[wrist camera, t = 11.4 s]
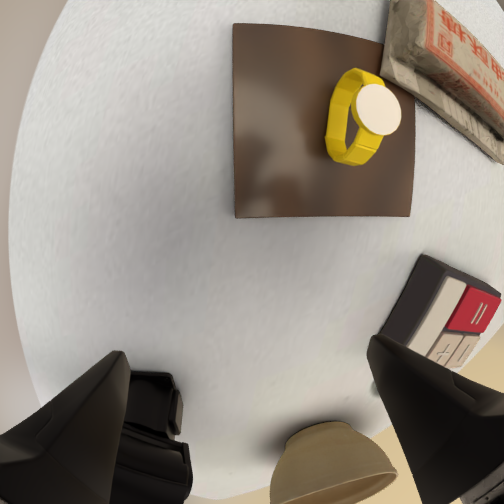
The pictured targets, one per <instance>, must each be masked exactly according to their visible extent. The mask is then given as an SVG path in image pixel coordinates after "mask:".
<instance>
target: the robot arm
mask: <svg viewBox="0 0 504 504" xmlns="http://www.w3.org/2000/svg"><path fill="white" fill-rule="evenodd" d="M367 359H368V362H369V365H370V368H371V371H372V374H373V378H374V381H375V384H376V387H377V390H378V392H379V394H380V397H381V399H382V401H383V404H384V406H385V408H386V410H387V413H388V415H389V417H390V420H391V422H392V425H393V427H394V429H395V432H396V434H397V437H398V439H399V442H400V444H401V446H402V449H403V452H404V454H405V457H406V459H407V462H408V465H409V467H410V470H411V472H412V474H413V478H414V481H415V484H416V487H417V490H418V492H419V495H420V498H421V501H422V504H450V503H451V502H453V501H454V500H456V499H457V498H459V497H460V499H461V501H462V503H463V504H504V393H501V392H499V391H496V390H493V389H491V388H488V387H486V386H483V385H481V384H478V383H476V382H474V381H471V380H469V379H467V378H465V377H463V376H461V375H459V374H457V373H455V372H453V371H452V372H451V370H449V369H448V368H446V367H444V366H442V365H440V364H438V363H436V362H434V361H432V360H430V359H428V358H427V357H425V356H423V355H421V354H419V353H417V352H415V351H413V350H411V349H410V348H408V347H406V346H404V345H402V344H400V343H398V342H396V341H394V340H393V339H391V338H389V337H387V336H385V335H383V334H377V335H373V336H372V337H371V339H370V342H369V346H368V349H367ZM182 414H183V402H182V399H181V396H180V392H179V391H178V390H176V388H175V384H174V381H173V378H172V375H170V374H168V373H148V372H131V371H130V366H129V364H128V361H127V358H126V356H125V353H124V352H123V351H115V350H114V351H112V352H110V353H109V354H108V355H106V356H105V357H104V358H103V359H101V360H100V361H99V362H98V363H96V364H95V365H94V366H93V367H91V368H90V369H89V370H88V371H86V372H85V373H84V374H83V375H81V376H80V377H79V378H78V379H76V380H75V381H74V382H73V383H72V384H70V385H69V386H68V387H67V388H65V389H64V390H63V391H62V392H60V393H59V394H58V395H57V396H55V397H54V398H53V399H52V400H51V401H49V402H48V403H47V404H45V405H44V406H43V407H42V408H40V409H39V410H38V411H37V412H35V413H34V414H32V415H31V416H30V417H28V418H27V419H25V420H24V421H22V422H21V423H19V424H18V425H16V426H14V427H13V428H11V429H10V430H8V431H7V432H5V433H4V434H2V435H0V504H183V503H184V500H186V499H187V497H188V496H189V494H190V491H191V488H192V483H193V472H192V466H191V460H190V453H189V446H188V444H187V443H184V442H182V443H181V442H178V441H174V439H175V435H179V434H180V433H181V424H182Z"/></svg>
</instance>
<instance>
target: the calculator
mask: <svg viewBox="0 0 504 504" xmlns="http://www.w3.org/2000/svg"><path fill="white" fill-rule="evenodd" d="M500 297H501V293H500V292H498V291H497V290H495V289H494V288H493V287H491V286H490V285H488V284H487V283H485V282H483V281H481V280H479V279H477V278H474V277H472V276H470V275H468V274H466V273H464V272H461V271H459V270H457V269H455V268H453V267H451V266H449V265H447V264H445V263H443V262H441V261H439V260H436V259H434V258H432V257H429V256H427V255H422V256H421V257H420V259H419V261H418V263H417V265H416V268H415V270H414V272H413V274H412V276H411V278H410V280H409V282H408V284H407V286H406V288H405V290H404V292H403V294H402V295H401V297H400V299H399V301H398V303H397V305H396V307H395V308H394V310H393V312H392V314H391V315H390V317H389V319H388V321H387V322H386V324H385V326H384V327H383V329H382V331H381V332H380V334H383V335H385V336H387V337H389V338H391V339H393V340H394V341H396V342H398V343H400V344H402V345H404V346H406V347H408V348H410V349H411V350H413V351H415V352H417V353H419V354H421V355H423V356H425V357H427V358H428V359H430V360H432V361H434V362H436V363H438V364H440V365H442V366H444V367H446V368H457V367H461V366H462V365H463V363H464V362H465V360H466V359H467V357H468V356H469V355H470V353H471V352H472V350H473V349H474V347H475V346H476V344H477V342H478V341H479V339H480V336H479V335H480V333H483V332H484V331H485V330H486V328H487V326H488V324H489V323H490V321H491V319H492V317H493V316H494V314H495V312H496V310H497V308H498V306H499V304H500V302H501V299H500Z"/></svg>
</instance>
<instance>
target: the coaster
mask: <svg viewBox="0 0 504 504" xmlns="http://www.w3.org/2000/svg"><path fill="white" fill-rule="evenodd" d="M383 52H384V44H381V43H377V42H374V41H370V40H366V39H362V38H358V37H354V36H350V35H345V34H340V33H335V32H330V31H324V30H318V29H311V28H304V27H295V26H285V25H272V24H248V23H234V24H233V149H234V195H235V218H266V217H314V216H388V217H410V211H411V202H412V192H413V180H414V164H415V97H414V95H412V94H411V93H409V92H408V91H406V90H405V89H403V88H401V87H400V86H398V85H396V84H394V83H393V82H391V81H389V80H387V79H385V78H384V77H382V76H380V70H381V64H382V58H383ZM353 68H358V69H361V70H363V71H366V72H369V73H371V74H374V75H375V76H377V77H379V78H381V79H382V80H383V82H384V84H385V87H386V88H388V89H389V90H390V91H391V92H392V93H393V94H394V95H395V97H396V98H397V100H398V102H399V105H400V108H401V121H400V124H399V126H398V128H397V129H396V130H395V131H394V132H393V133H391V134H389V135H385V136H383V138H382V141H381V143H380V145H379V148H378V149H377V150H376V152H375V153H374V154H373V155H372V157H371V158H370V159H369V160H368V161H367V162H366V163H364V164H363V165H357V166H351V165H347V164H343V163H339V162H336V161H334V160H333V159H332V158H331V156H330V155H329V154H328V152H327V147H326V142H325V136H326V131H327V123H328V115H329V107H330V99H331V97H332V94H333V92H334V89H335V86H336V84H337V83H338V82H339V80H340V79H341V77H342V76H343V74H345V73H346V72H347V71H349V70H351V69H353ZM362 86H364V85H363V84H362V85H361V86H360V88H361V87H362ZM358 130H359V126H358V124H357V123H356V121H355V120H354V118H353V114H352V111H351V104H350V106H349V110H348V119H347V127H346V135H345V145H346V149H347V150H348V148H349V147H350V146H351V144H352V143H353V142H354V140H355V137H356V135H357V132H358Z"/></svg>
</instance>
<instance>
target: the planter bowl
mask: <svg viewBox="0 0 504 504" xmlns="http://www.w3.org/2000/svg"><path fill="white" fill-rule="evenodd" d="M397 477H398V473H397V470H396V469H395V468H394V467H393V466H392V464H391V462H390V460H389V458H388V457H387V455H386V454H385V452H384V451H383V450H382V449H381V448H380V447H379V446H378V445H377V444H376V443H374V442H373V441H372V440H371V439H369V438H368V437H366V436H365V435H363V434H361V433H359V432H357V431H354V430H353V429H352V428H351V426H350V425H349V424H347V423H344V422H326V423H321V424H317V425H314V426H311V427H308V428H306V429H303V430H301V431H299V432H298V433H296V434H294V435H293V436H292V437H291V438H290V439H289V440H288V441H287V443H286V445H285V452H284V453H283V455H282V456H281V458H280V460H279V461H278V463H277V465H276V467H275V470H274V472H273V475H272V479H271V484H270V504H356V503H358V502H361V501H363V500H365V499H367V498H369V497H371V496H373V495H375V494H377V493H379V492H381V491H382V490H384V489H385V488H387V487H388V486H389V485H390V484H392V483H393V482H394V481H395V480H396V479H397Z"/></svg>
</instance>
